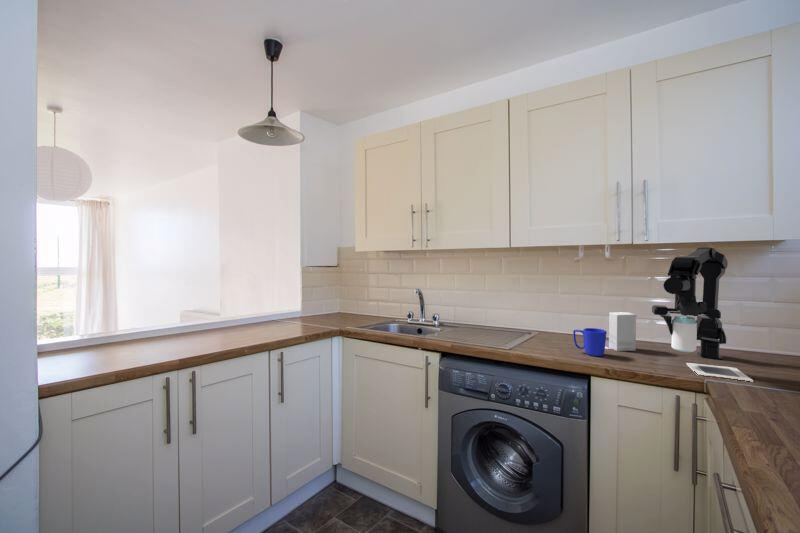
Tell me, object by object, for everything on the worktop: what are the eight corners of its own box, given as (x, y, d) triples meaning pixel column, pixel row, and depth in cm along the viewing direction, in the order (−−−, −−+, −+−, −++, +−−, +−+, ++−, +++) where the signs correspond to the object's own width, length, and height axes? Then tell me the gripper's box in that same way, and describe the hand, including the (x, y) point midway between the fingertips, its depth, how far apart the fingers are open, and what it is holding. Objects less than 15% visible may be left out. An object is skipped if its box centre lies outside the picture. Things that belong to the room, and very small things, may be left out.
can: (696, 354, 125) (697, 319, 124) (671, 350, 129) (671, 317, 129) (695, 349, 131) (696, 316, 130) (671, 346, 135) (672, 314, 134)
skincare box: (627, 347, 158) (628, 311, 158) (636, 351, 152) (637, 314, 151) (607, 347, 158) (608, 311, 158) (616, 351, 152) (617, 314, 151)
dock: (686, 364, 134) (686, 362, 134) (735, 369, 128) (735, 367, 128) (698, 375, 122) (698, 373, 122) (753, 382, 116) (753, 380, 116)
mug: (574, 349, 155) (575, 326, 154) (607, 353, 148) (607, 329, 148) (571, 353, 148) (571, 329, 148) (604, 358, 141) (605, 333, 141)
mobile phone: (606, 347, 156) (596, 339, 170) (606, 349, 156) (596, 341, 170) (625, 348, 154) (614, 340, 168) (625, 350, 154) (614, 342, 168)
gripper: (657, 293, 126) (656, 337, 127) (727, 296, 118) (725, 343, 118) (652, 290, 136) (651, 331, 137) (715, 292, 128) (714, 336, 128)
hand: (684, 335), depth 130 cm, fingers closed on can, 7 cm apart
